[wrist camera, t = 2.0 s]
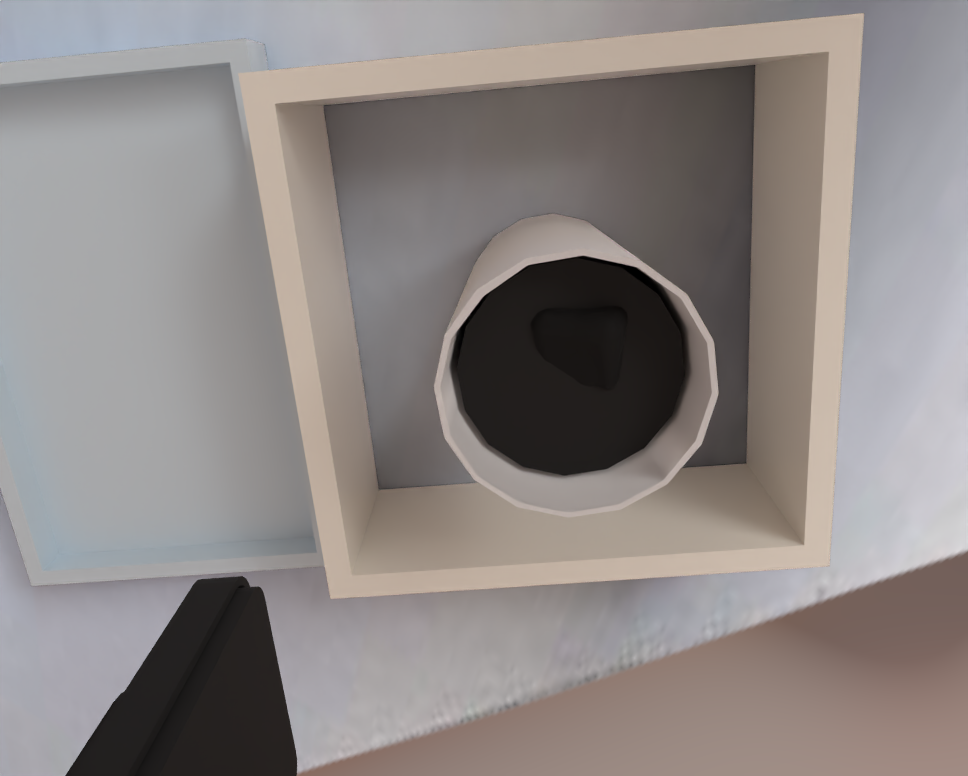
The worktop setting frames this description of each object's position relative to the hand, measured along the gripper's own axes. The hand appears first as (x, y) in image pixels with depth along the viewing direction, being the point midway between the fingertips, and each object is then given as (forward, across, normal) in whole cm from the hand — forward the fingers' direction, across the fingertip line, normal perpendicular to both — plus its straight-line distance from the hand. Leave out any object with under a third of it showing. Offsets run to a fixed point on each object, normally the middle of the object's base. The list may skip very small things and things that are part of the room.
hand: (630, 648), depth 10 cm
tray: (+19, +14, 0) cm, 24 cm away
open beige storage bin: (+19, 0, 0) cm, 19 cm away
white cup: (+19, 0, 0) cm, 19 cm away
